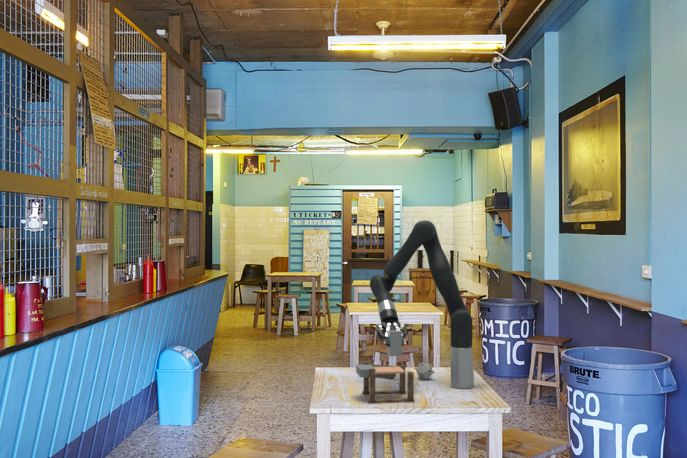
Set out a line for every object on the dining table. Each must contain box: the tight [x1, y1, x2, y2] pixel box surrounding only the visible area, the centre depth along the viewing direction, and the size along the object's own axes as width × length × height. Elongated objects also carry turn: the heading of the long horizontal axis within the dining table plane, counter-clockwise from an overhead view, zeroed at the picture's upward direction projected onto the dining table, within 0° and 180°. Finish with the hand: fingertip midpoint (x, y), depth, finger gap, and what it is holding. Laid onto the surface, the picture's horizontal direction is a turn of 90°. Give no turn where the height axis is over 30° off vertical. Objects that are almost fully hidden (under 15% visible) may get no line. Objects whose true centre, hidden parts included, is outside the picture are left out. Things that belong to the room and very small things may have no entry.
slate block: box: [386, 329, 403, 357], centre depth 255 cm, size 5×5×10 cm
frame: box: [361, 361, 415, 404], centre depth 246 cm, size 18×15×13 cm
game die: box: [413, 360, 436, 381], centre depth 280 cm, size 9×8×10 cm
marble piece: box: [371, 364, 396, 380], centre depth 289 cm, size 17×15×4 cm
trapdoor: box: [355, 363, 406, 378], centre depth 245 cm, size 18×11×3 cm, turn 98°
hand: (395, 345), depth 253 cm, fingers closed on slate block, 5 cm apart
